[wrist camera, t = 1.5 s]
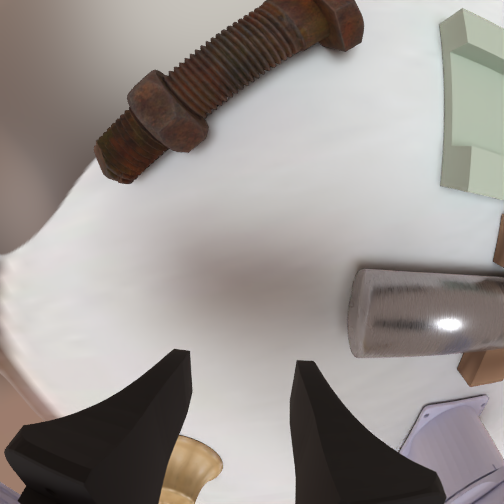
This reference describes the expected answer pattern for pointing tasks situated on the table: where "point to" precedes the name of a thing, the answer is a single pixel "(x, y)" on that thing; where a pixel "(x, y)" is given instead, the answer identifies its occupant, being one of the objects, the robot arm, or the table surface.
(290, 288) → the table surface
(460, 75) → the pale green channelled slab
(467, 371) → the bearing block
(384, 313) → the axle
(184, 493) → the hand bell
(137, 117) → the bolt
